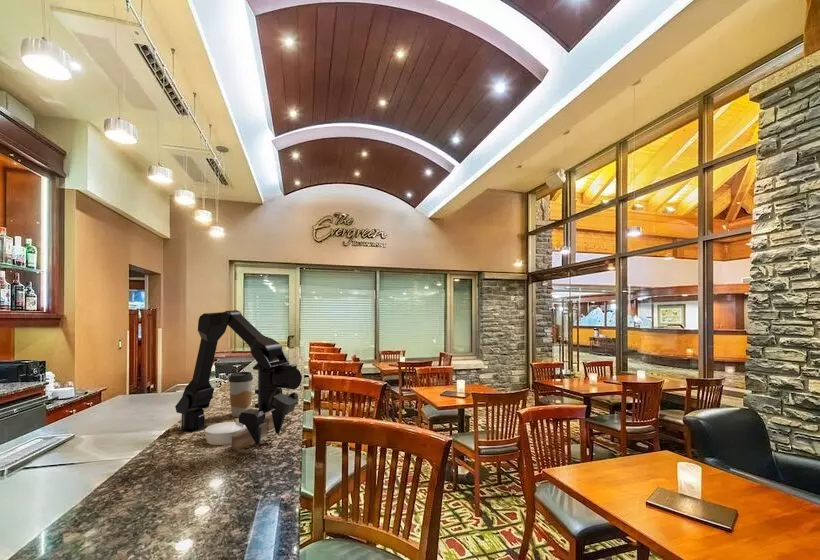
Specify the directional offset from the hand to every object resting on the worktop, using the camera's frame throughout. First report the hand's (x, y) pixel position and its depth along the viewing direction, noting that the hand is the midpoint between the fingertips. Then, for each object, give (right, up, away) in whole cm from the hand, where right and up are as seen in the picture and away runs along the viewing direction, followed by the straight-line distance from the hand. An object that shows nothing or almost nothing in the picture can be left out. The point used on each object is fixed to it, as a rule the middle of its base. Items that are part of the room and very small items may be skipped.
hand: (268, 438), depth 120 cm
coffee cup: (-21, -3, +31) cm, 37 cm away
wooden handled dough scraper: (-13, -2, +4) cm, 14 cm away
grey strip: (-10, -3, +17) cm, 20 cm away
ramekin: (-15, -4, +5) cm, 16 cm away
